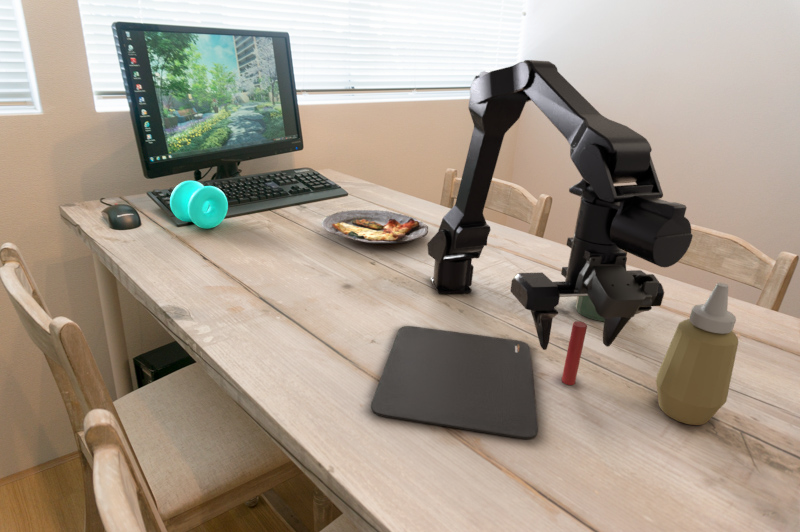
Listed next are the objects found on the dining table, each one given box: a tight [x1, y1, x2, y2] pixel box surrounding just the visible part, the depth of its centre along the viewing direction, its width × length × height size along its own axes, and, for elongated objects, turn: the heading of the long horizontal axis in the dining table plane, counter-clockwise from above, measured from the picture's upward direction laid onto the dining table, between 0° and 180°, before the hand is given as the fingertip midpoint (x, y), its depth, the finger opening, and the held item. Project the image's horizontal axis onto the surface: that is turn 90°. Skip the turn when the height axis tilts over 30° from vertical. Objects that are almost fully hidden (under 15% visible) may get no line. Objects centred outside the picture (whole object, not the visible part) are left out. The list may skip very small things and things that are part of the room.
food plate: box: [321, 209, 429, 245], centre depth 126 cm, size 25×23×4 cm
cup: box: [574, 296, 605, 322], centre depth 93 cm, size 8×8×7 cm
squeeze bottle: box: [655, 282, 739, 426], centre depth 65 cm, size 8×8×18 cm
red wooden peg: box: [561, 320, 588, 386], centre depth 72 cm, size 2×2×9 cm
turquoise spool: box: [169, 179, 229, 230], centre depth 125 cm, size 10×10×10 cm
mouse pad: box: [370, 325, 539, 440], centre depth 73 cm, size 23×20×1 cm
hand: (575, 346), depth 71 cm, fingers open, 9 cm apart
